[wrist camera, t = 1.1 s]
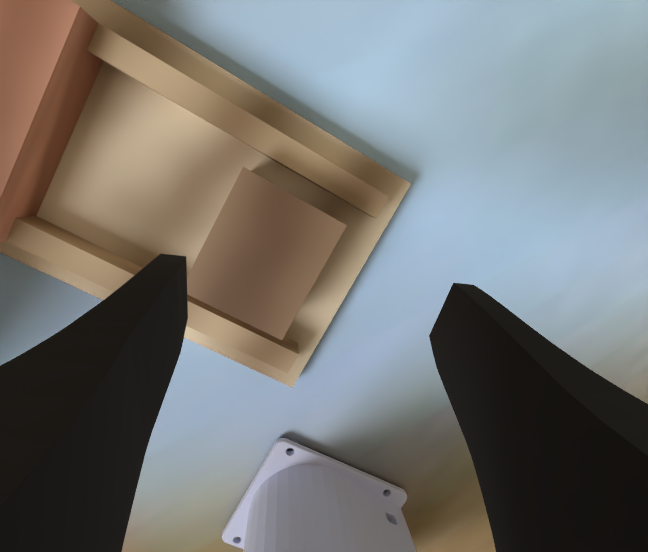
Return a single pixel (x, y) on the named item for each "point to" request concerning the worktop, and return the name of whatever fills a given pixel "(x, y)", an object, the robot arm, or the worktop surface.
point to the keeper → (263, 254)
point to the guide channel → (161, 166)
